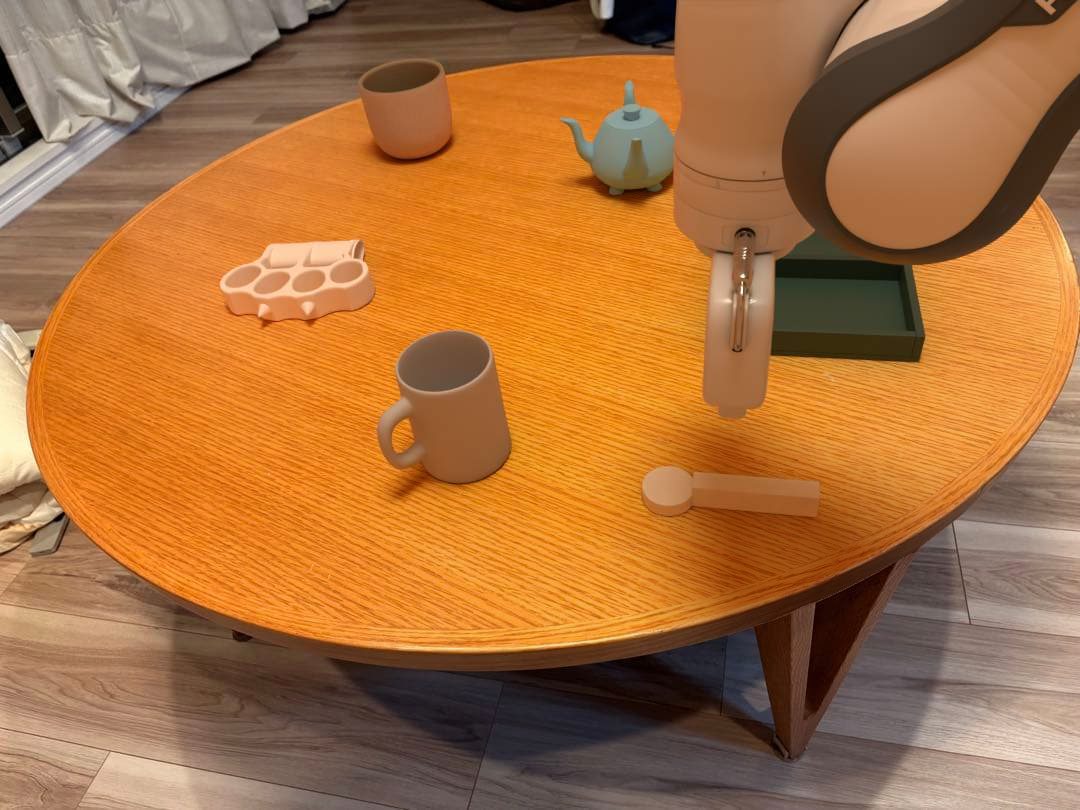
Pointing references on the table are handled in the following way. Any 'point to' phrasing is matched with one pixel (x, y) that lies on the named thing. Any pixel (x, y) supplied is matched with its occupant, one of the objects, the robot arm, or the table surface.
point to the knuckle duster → (300, 281)
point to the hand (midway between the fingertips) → (734, 364)
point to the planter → (407, 107)
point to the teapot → (628, 147)
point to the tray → (844, 306)
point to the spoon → (727, 493)
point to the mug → (448, 408)
